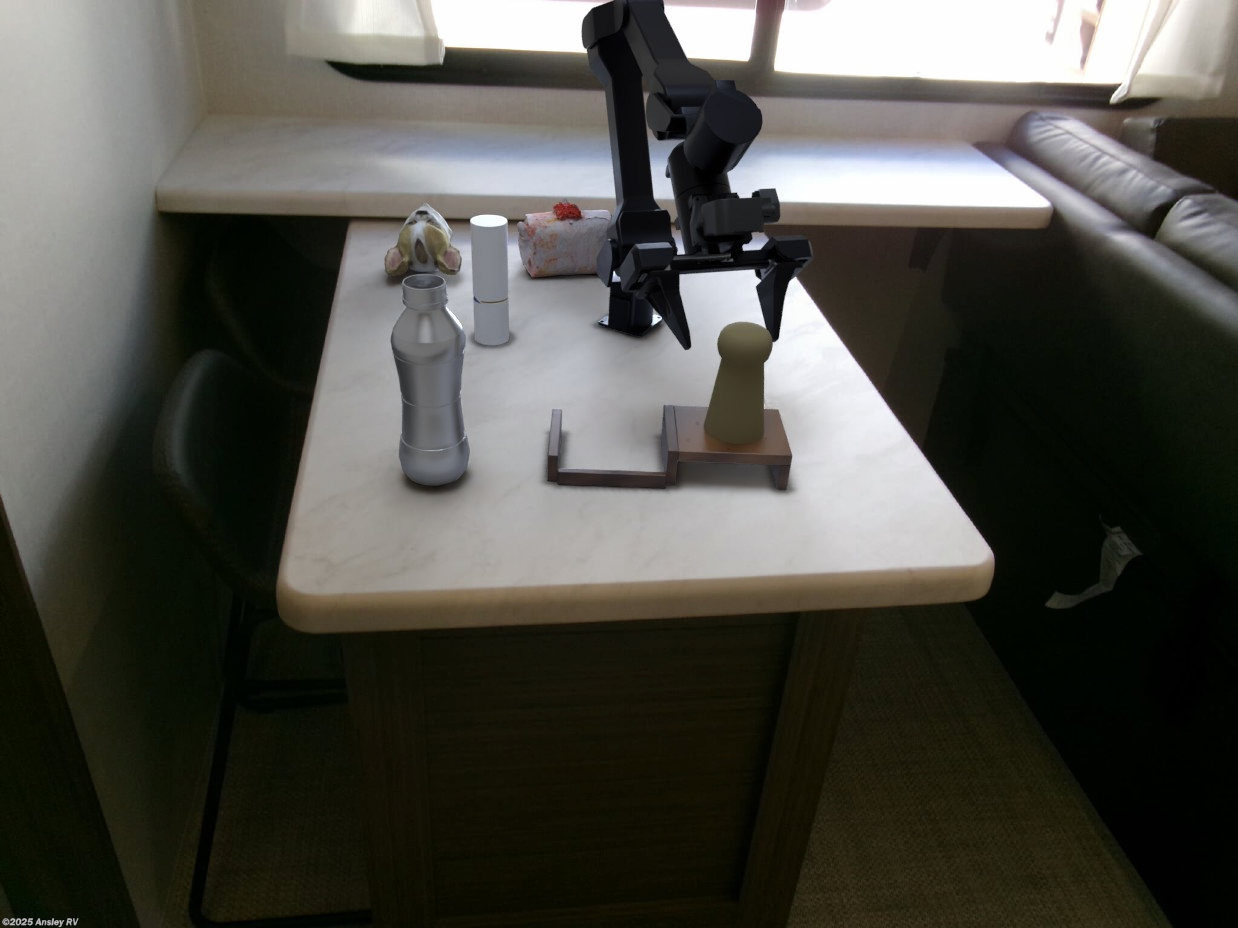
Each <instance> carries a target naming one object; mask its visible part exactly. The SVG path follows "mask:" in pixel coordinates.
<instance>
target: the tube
mask: <svg viewBox="0 0 1238 928" xmlns="http://www.w3.org/2000/svg"><path fill="white" fill-rule="evenodd" d="M469 221H470V223H469V225H470V244H471V245H470V246H471V247H470V250H471V275H472V276H471V277H472V295H473V298H472V301H473V304H472V305H473V324H474V325H473V326H474V328H473V330H474V340H475V342H477V343H478V344H480V345H484V346H500V345H504V344H506V343H508V342H509V340H510V299H509V295H510V294H509V236H508V235H509V234H508V233H509V232H508V231H509V230H508V226H509V225H508V219H507V218H506V217H504V216H502V215H497V214H480V215H475V216H472V217H471V218H470V220H469Z"/></svg>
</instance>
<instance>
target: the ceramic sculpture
mask: <svg viewBox="0 0 1238 928" xmlns="http://www.w3.org/2000/svg"><path fill="white" fill-rule="evenodd" d="M452 239H453V229H451V228H450V227H449V225H448V223H447V221H446V220H445V218H444V217H443V216H442V215H441V214H440V213H439V212H438V211H437V210H435V209H434V208H433V207H431V206H430V205H429V204H428V203H427V202H424V203H423V204H422V205H421V206H420V207H419V208H417V209H416V210H414V211H413V212H412V213H411V214H410V215H409V216H408V217H407V218H406V219H405V222H404V224H403V226H402V228H401V229H400V231H399V234H398V239H397V242H396V245H395V246H393V247H391V248H389V249H388V250H387V252H386V254H385V256H384V260H383V261H384V272H385V274H386V275H387V276H401V275H403V274H405V273H406V272H408V270H409V269H410V270H411V271H413V272H417V273H433V272H436V271H438V270H439V272H440V273H442V274H445V275H447V276H456V275H458V274H459V273H460V271H461V268H462V262H463V261H462V260H463V258H462V255H461V252H460V251H461V250H459V249H458V248H456V247H455V246H453V245H452Z"/></svg>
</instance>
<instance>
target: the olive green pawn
mask: <svg viewBox="0 0 1238 928" xmlns="http://www.w3.org/2000/svg"><path fill="white" fill-rule="evenodd" d="M773 346H774V342H772V337H771V335H770V333H769V331H768V330H767V329H766V327H765V326H763V325H761V324H759V323H755V322H751V321H735V322H732V323H728V324H727V325H725V326H724V327H723V328H722V329H721V330H720V333H719V335H718V337H717V343H716V348H717V352H718V356H719V357H720V362H719V366H718V369H717V372H716V377H715V381H714V385H713V388H712V392H711V395H710V396H711V397H710V400H709V404H708V406H707V407H708V411H707V414H706V418H705V422H704V430H705V431H706V432H707V434H708V435H710V436H711V437H713V438H714V439H716V440H719V441H722V442H725V443H731V444H747V443H752V442H755V441H757V440H759V439H760V438H761V437H762V436H763V433H764V409H765V363H766V362H767V361H768V360H769V359H770V356H771V354H772V351H773Z"/></svg>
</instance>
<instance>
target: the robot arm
mask: <svg viewBox="0 0 1238 928" xmlns="http://www.w3.org/2000/svg"><path fill="white" fill-rule="evenodd" d="M665 11H666V9H665V1H664V0H610V1H608V2H604V3H602V4H598V5H597V6H593V7H592V8H591V9H590V10H588V12H587V13H586V15H585V16H584V17H583V19H582V22H581V29H580V30H581V43H582V47H583V48H584V50H586V54H587V60H588V61H587V62H588V67H589V69H590V71H591V72H592V73H593V75H594V76H595V77H596V78H597V79H598V81H599V83H600V84H601V85H602V87H603V88H604V94H605V95H604V96H605V105H606V116H607V126H608V133H609V134H608V135H609V144H610V145H609V147H610V155H611V164H612V175H613V184H614V185H613V186H614V193H615V202H616V203H615V204H616V205H615V206H616V208H615V210H614V211H613V214H612V218H611V220H610V223H609V225H608V227H607V229H606V236H607V239H606V241H605V243H604V245H603V246H602V248H601V250H600V252H599V254H598V256H597V259H596V261H597V274H596V275H597V276H598V277H599V279H600V280H601V282H602V283H603V285H604V286H605V287H606V288H609V296H608V314H606V315H605V316H603V317H602V318H600V319H598V320H597V325H598V326H600V327H603V328H606V329H610V330H613V331H617V332H619V333H623V334H627V335H630V336H634V337H637V338H642V337H644V336H645V335H646V334H647V333H649V332H650V331H652V330H653V329H655V327H657V326H658V325H660V324H661V323H663V322H664V323H665V324H666V326H667V327H668V328H669V330H670V331H671V333H672V335H673V336H674V337H675V339H676V340H677V342H678V343H679V345H681V347H682V349H683V350H684V351H689V350H691V348H692V338H691V332H690V331H691V330H690V327H689V324H688V323H689V322H688V319H687V314H686V311H685V307H684V303H683V299H682V295H681V287H680V285H681V284H680V282H681V279H680V278H681V275H693V274H695V275H696V274H709V273H711V274H712V273H724V272H739V271H741V272H742V271H751V270H752V271H754V275H755V277H756V278H757V279H759V280H760V281H759V283H757V284H756V285H755V291H756V294H757V298H758V302H759V306H760V310H761V315H762V318H763V322H764V327H765V328H766V329H767V330H768V331H769V333H770V335H771V337H772V342H773V343H776V342H777V341H778V340H779V338H780V333H781V326H782V320H783V319H782V318H783V312H784V305H785V299H786V295H787V291H788V287H789V285H790V282H791V281H792V280H793V279H795V278H796V277H797V276H798V275H799V274H800V273H801V272H802V271H803V270H804V269H805V268H806V267H807V266H808V265H809V264H810V263H811V262H813V260H815V256H814V251H813V246H812V243H811V241H810V240H809V239H808V237H806V236H805V235H803V234H791V235H777V236H771V237H770V238H769V239H768V240H767V242H765V243H764V244H763V245H762V247H761V248H759V249H748V250H747V249H746V250H745V249H744V247H743V246H744V245H749V244H750V243H751V242H752V241H753V239H754V238H753V233H759V234H763V233H765V225H771V224H774V223H778V222H779V221H780V218H781V203H780V199H779V196H778V191H777V189H776V187H775V188H759V189H757V190H753V191H752V192H751V197H740V196H739V194H738V191H737V192H732V189H731V184H730V179H729V172H731V171H732V170H734V169H735V168H736V167H737V166H738V165H739V163H740V162H741V160H742V159H743V158H744V156H745V154H746V153H747V152H748V150H749V149H750V147H751V146H752V145H753V143H754V142H755V140H756V139H757V137H758V136H759V134H760V132H761V130H762V129H763V123H764V122H763V112H762V110H761V109H760V108H759V107H758V105H757V103H756V102H755V101H754V100H753V99H752V98H751V97H750V96H749V95H748V94H746V93H745V92H743V91H740V90H738V89H737V87H736V81H735V79H714V77H713V76H712V75H711V74H710V72H709V71H708V70H706V69H703V68H701V67H699V66H697V65H696V64H693V63H692V62H690V60H689V59H688V56H687V54H686V52H685V51H684V49H683V46H682V44H681V42H680V41H679V38H678V36H677V35H676V32H675V31H674V29H673V27H672V24H671V22H670V21H669V18H668V17H667V15H666V13H665ZM643 78H644V80H645V82H646V85H647V87H648V89H649V92H648V95H647V98H646V102H645V96H644V95H645V94H644V85H643ZM645 103H646V104H645ZM648 129H650V131H651V133H652V135H653V136H654V138H655V139H656V140H657V141H658V142H673V141H675V142H676V141H680V142H679V143H678V144H677V145H675V147H673V149H672V150H671V152H670V153H669V155H668V157H667V160H666V161H667V164H666V167H665V173H664V175H665V178H667V179H670V183H671V189H672V194H673V197H674V204H675V208H676V209H675V210H676V215H677V216H676V218H675V219H674V221H673V222H674V227H675V231H680V236H681V241H682V245H683V246H682V247H683V251H684V253H679V254H678V251H679V248H678V247H677V243H676V242H677V241H676V239H675V237H674V236H673V232H672V216H671V215H670V213H669V210H668V209H665V208H664V209H662V207H660V205H659V204H658V203H657V201H656V200H655V196H654V186H653V176H652V166H651V156H650V145H649V136H648ZM654 311H655V312H656V313H657V314H654Z"/></svg>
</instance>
